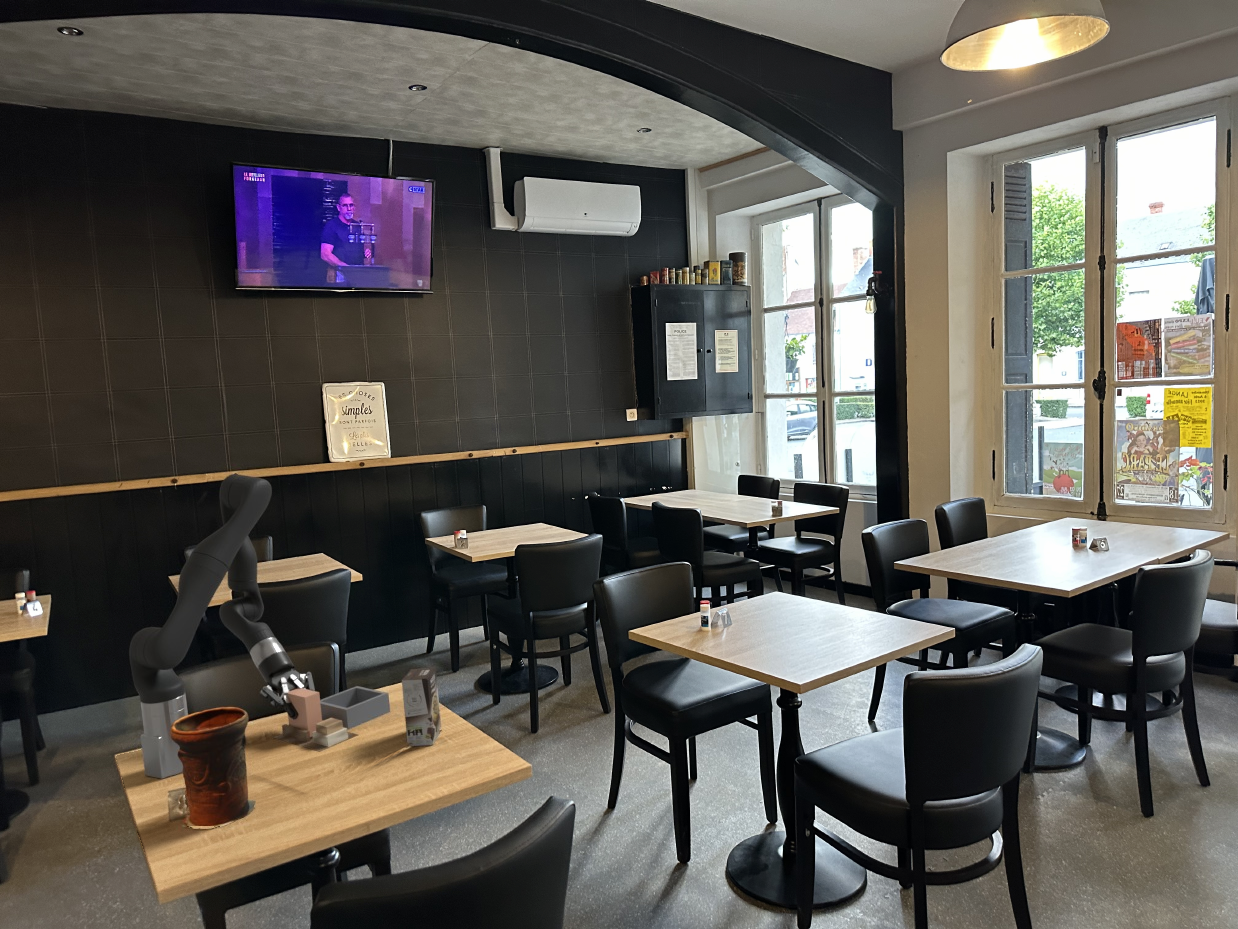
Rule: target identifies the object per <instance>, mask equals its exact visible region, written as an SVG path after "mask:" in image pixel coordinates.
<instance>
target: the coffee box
mask: <svg viewBox="0 0 1238 929" xmlns="http://www.w3.org/2000/svg"><path fill="white" fill-rule="evenodd" d="M401 685H402V686H401V687H402V699H403V709H404V711H403V712H404V721H405V730H406V743H407V744H408V745H407V747H417V746H433V745H434V744H435V742H436V740H437V739H438V737H439V735H440V734H441V732H442V731H443V730H442V729H441V728H442V721H441V710H440V701H439V699H440V698H439V689H438V688H439V687H438V677H437V668H436V666H430V667H420V668H411V669H410V670H409V671H408V672H407V673H406V675H404V677H403V678H402V679H401Z"/></svg>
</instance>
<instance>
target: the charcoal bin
mask: <svg viewBox="0 0 1238 929" xmlns="http://www.w3.org/2000/svg"><path fill="white" fill-rule="evenodd" d="M389 696H390V693H389V692H385V691H381V690H376V689H371V688H367V687H363V686H358V685H356V686H354V687H350V688H349V689H346V690H343V691H340V692H338V693H335V694H332V695H330V696H326V697H325V698H322V699H320V705H321V715H322V720H327V719H329V718H334V719H338V720H342V722H343V727H344V728H347V730H348V731H349V730H351V729H354V728H356V727H359V726H361V725H362V724H365V723H369V722H370V721H372V720H375V719H377V718H379V717H382V716H384V715H387V714H389V713H391V706H390V697H389Z"/></svg>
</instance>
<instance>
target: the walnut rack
mask: <svg viewBox="0 0 1238 929" xmlns="http://www.w3.org/2000/svg"><path fill="white" fill-rule="evenodd" d="M322 721H324V720H322ZM281 727H282V728H281V729H282V733H281V734H278V735H276V736H274V737H273V739H276V740H280V741H283V742H286V743H289V744H293V745H296V746H299V747H302V748H306V749H310V750H313V751H316V752H319V753H320V752H323V751H326V750H327V749H330V748H332V747H334V746H337V745H339V744H341V743H344V742H346V741H349V740H350V739H351V740H352V739H353V738H355V737H357V736H359V733H358V734H357V733H354V732H350V731H348V739H346V740H344V741H341V742H339V743H337V744H334V745H332V746H330V747H327V746H323V745H320V744H316V743H313V736H312V737H310V731H308V730H305V729H301V728H298V727H294V726H291V725H289V724H287V723H284V724H282V725H281Z"/></svg>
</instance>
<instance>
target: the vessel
mask: <svg viewBox="0 0 1238 929" xmlns="http://www.w3.org/2000/svg"><path fill="white" fill-rule="evenodd" d="M248 714H249V713H248V712H247V711H246V710H244V709H242V708H239V707H234V706H222V707H216V708H211V709H204V710H202V711H198V712H194V713H191V714H188V715H187V716H184V717H182V718H180V719H179V720H177V721H175V722H174V723H173V724H172V726H171V732H170V735H171V738H172V740H173V741H174V742H175V743H176V744H178V745H179V747H180V749H179V751H178V757H179V759H180V760H181V762H182V764H183V771H182V772H181V773H182V775H183V780H184V784H185V785H184V786H185V791H184V794H185V796H186V798H187V805H188V811H189V812H188V813H189V814H187V815H186V817H184V819H183V822H182V823H185V824H184V825H182V827H184V828H188V827H187V826H214V829H216V828H215V827H216V826H220V827H219V828H221V827H224V826H228V825H229V824H232V823H234V822H235V821H238V820H239V819H243V818H245V817H246V816H248V815H250V814H251V813H252V812H253V811H254V810H256V808H255V805H256V800H254V799H252V798H250V799H249V786H248V774H247V762H246V761H247V760H246V759H247V758H246V750H245V748H246V747H245V746H246V745H247V738H246V729H247V727H248V725H249V724H248V723H249V715H248Z"/></svg>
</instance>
